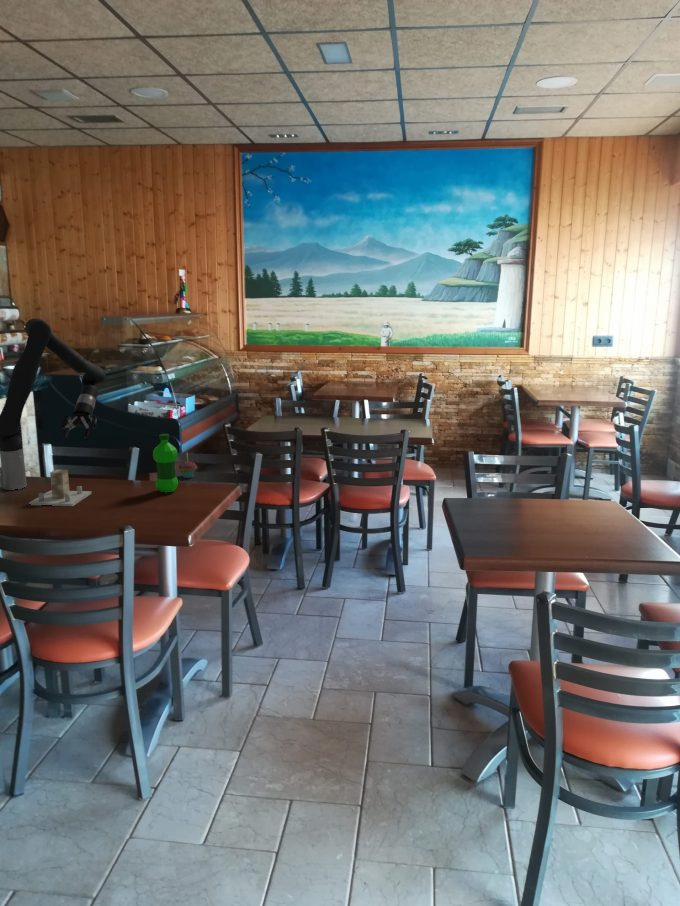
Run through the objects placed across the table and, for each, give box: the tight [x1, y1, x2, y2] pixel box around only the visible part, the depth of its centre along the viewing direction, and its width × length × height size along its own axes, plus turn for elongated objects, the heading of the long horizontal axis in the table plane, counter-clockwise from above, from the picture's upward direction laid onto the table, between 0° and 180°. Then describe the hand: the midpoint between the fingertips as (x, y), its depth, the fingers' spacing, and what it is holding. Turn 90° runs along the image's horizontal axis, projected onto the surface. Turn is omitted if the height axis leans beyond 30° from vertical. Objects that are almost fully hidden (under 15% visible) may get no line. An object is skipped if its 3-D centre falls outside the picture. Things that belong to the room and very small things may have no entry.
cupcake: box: [178, 452, 198, 479], centre depth 317 cm, size 9×8×12 cm
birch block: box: [49, 469, 71, 499], centre depth 281 cm, size 5×5×11 cm
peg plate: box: [28, 485, 93, 507], centre depth 282 cm, size 18×18×4 cm
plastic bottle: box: [152, 433, 179, 493], centre depth 291 cm, size 10×10×25 cm
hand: (75, 437), depth 291 cm, fingers open, 8 cm apart
